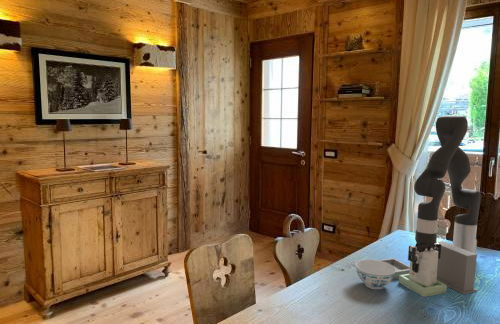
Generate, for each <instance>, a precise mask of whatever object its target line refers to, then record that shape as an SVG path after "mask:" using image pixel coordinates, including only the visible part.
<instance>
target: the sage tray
mask: <svg viewBox="0 0 500 324" xmlns="http://www.w3.org/2000/svg"><path fill="white" fill-rule="evenodd" d="M398 283H399V284H400V285H402V286H404V287H406V288H408V289H409V290H411V291H413V292H414V293H416V294H417V295H420V296H422V297H423V298H424V297H425V298H426V297H430V296H431V297H432V296H435V295H441V294H446V293H447V290H448V289H447V288H448V286H447V285H446V284H444V283H442V282H440V281H438V280H436V283H435V284H434V285H432V286H430V287H426V286H424V285H421V284H418V283H415V282H413V281H411V280H410V279H409V274H404V275H399V279H398Z"/></svg>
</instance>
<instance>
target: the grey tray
mask: <svg viewBox="0 0 500 324" xmlns="http://www.w3.org/2000/svg"><path fill="white" fill-rule="evenodd" d="M377 261H382V262H386V263H388V264H390V265H392V266H394V267H395V269H396V273H395V276H394V278H393V279H392V280H397V279H398V280H399V275H404V274H409V271H410V265H408V264H406V263H404V262H402V261H400V260H399V259H396V258H393V257H392V258H385V259H377Z"/></svg>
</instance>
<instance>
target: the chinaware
mask: <svg viewBox="0 0 500 324" xmlns="http://www.w3.org/2000/svg"><path fill="white" fill-rule="evenodd" d="M377 260H378V259H377ZM377 260H376V259H362V260H359V261H356V263H355V269H356V273H357V276H358V278H359V279H360V280H361V281H362V282H363V283H364V284H365V287H367V288H369V289H372V290H382V289H384V287H385V286H387V285H389V284H391V282H392V281H393V280H394V279H393V278H394V276H395V273H396V269H395V267H394V266H392V265H390V264H388V263H386V262H382V261H377Z"/></svg>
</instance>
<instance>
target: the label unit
mask: <svg viewBox="0 0 500 324" xmlns="http://www.w3.org/2000/svg"><path fill="white" fill-rule="evenodd" d="M436 243H439V244H441V255H440V259H438V265H437V279H436V280H438V281H440V282H442V283H444V284H446V285H447V288H449V289H452V290H453V291H456V292H458V294H459V293H460V294H461V295H466V294H473V293H476V292H477V291H478V290H477V289H476V288H475V277H476V267H477V258H478V254H477V253H476V254H475V253H472V252H469V251H467V250H464V249H462V248H459V247H456V246H454V245H453V244H451V243H449V242H446V241H443V240H442V241H441V240H440V241H436Z"/></svg>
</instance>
